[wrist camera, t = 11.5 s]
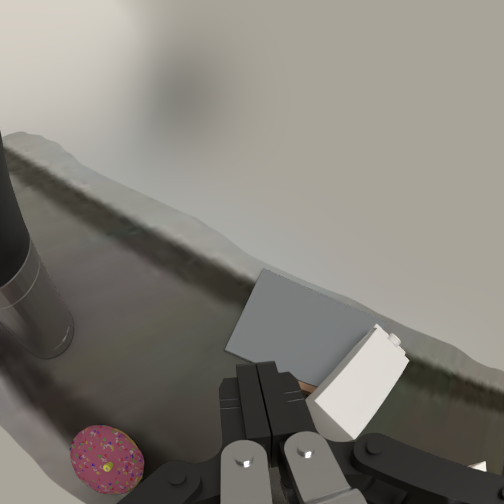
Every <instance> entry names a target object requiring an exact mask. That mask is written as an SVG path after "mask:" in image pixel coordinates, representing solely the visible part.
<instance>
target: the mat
mask: <svg viewBox="0 0 504 504" xmlns="http://www.w3.org/2000/svg"><path fill="white" fill-rule="evenodd" d="M385 322H386V321H384V320H381V319H379V318H377V317H374V316H372V315H370V314H367V313H365V312H363V311H360V310H358V309H356V308H353V307H351V306H349V305H346V304H344V303H342V302H339V301H337V300H335V299H332V298H330V297H328V296H326V295H323V294H321V293H319V292H316V291H314V290H312V289H309V288H307V287H305V286H303V285H300V284H298V283H296V282H293V281H291V280H289V279H287V278H284V277H282V276H280V275H277V274H275V273H273V272H271V271H268V270H266V269H264V268H263V269H262V272H261V274H260V276H259V278H258V280H257V282H256V285H255V287H254V289H253V291H252V293H251V295H250V297H249V300H248V302H247V304H246V306H245V308H244V310H243V312H242V314H241V317H240V319H239V321H238V323H237V325H236V327H235V329H234V331H233V333H232V336H231V338H230V340H229V342H228V344H227V346H226V348H225V350H224V351H226V352H228V353H230V354H232V355H234V356H237V357H239V358H241V359H244V360H246V361H248V362H251V363H255V364H256V363H257V362H266V361H275V363H276V366H277V370H278V373H281V372H290V373H291V374H292V375H293V376H294V377H296V378H297V379H298V381H300V382H303V383H306V384H309V385H311V386H314V387H318V386H319V385H320V384H321V383H322V382H323V381H324V380H325V379H326V378H327V377H328V376H329V374H330V373H331V372H332V371H333V370H334V369H335V368H336V367H337V366H338V365H339V364H340V362H341V361H342V360H343V359H344V358H345V357H346V356H347V355H348V353H349V352H350V351H351V350H352V349H353V348H354V347H355V346H356V345H357V344H358V343H359V342H360V341H361V340H362V339H363V338H364V337H365V336H366V335H367V334H368V333H369V332H370V331H371V330H372V328H373V327H374V326H375V325H376V324H378V325H379V326H380V327H381V328H382V329H383V330H384V331H385Z"/></svg>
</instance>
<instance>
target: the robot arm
mask: <svg viewBox="0 0 504 504" xmlns="http://www.w3.org/2000/svg"><path fill="white" fill-rule="evenodd" d="M0 323H1V324H2V325H3V326H4V327H5V328H6V329H7V330H8V331H9V332H10V333H11V334H12V335H13V336H14V337H15V338H16V339H17V340H18V341H19V342H20V343H21V344H22V345H23V346H24V347H25V348H26V349H27V350H28V351H29V352H31V353H32V354H33V355H35V356H36V357H39V358H43V359H49V358H53V357H56V356H58V355H60V354H61V353H62V352H63V351H65V349H66V348H67V347H68V346H69V344H70V342H71V340H72V337H73V332H74V323H73V319H72V316H71V314H70V312H69V311H68V309H67V307H66V306H65V304H64V302H63V300H62V299H61V297H60V295H59V293H58V291H57V290H56V288H55V286H54V284H53V282H52V280H51V279H50V277H49V275H48V273H47V271H46V269H45V267H44V265H43V263H42V261H41V259H40V257H39V254H38V252H37V250H36V248H35V246H34V244H33V242H32V239H31V237H30V235H29V232H28V230H27V228H26V225H25V223H24V220H23V217H22V215H21V212H20V209H19V206H18V203H17V200H16V197H15V194H14V191H13V187H12V184H11V180H10V177H9V173H8V169H7V164H6V159H5V154H4V149H3V143H2V137H1V133H0ZM236 373H237V378H224V379H223V381H222V383H221V385H220V387H219V398H220V412H221V426H222V438H223V444H222V448H221V450H220V452H219V453H218V454H217V455H216V456H215V457H213V458H212V459H210V460H208V461H205V462H202V463H199V464H195V465H191V464H189V463H187V462H184V461H170V462H167V463H164V464H163V465H161V466H160V467H159V468H158V469H157V470H155V471H154V472H153V473H152V474H151V475H150V476H149V477H148V478H146V479H145V480H144V481H143V482H142V483H141V484H140V485H138V486H137V487H136V488H135V489H134V490H133V491H131V492H130V493H129V494H128V495H127V496H125V497H124V498H123V499H122V500H121V501H119V502H118V503H117V504H272V497H271V489H270V480H269V468H270V464H271V468H273V467H278V468H279V472H280V476H281V477H280V485H281V488H282V491H283V494H284V496H285V499H286V502H287V504H504V476H500V475H496V474H493V473H489V472H485V471H482V470H478V469H475V468H471V467H468V466H465V465H462V464H458V463H455V462H452V461H449V460H446V459H444V458H441V457H438V456H435V455H432V454H430V453H427V452H424V451H422V450H419V449H417V448H414V447H411V446H409V445H406V444H404V443H402V442H399V441H397V440H394V439H392V438H390V437H387V436H385V435H383V434H379V433H369V434H365V435H363V436H361V437H360V438H359V439H358V440H357V441H356V442H335V441H331V440H328V439H326V438H324V437H323V436H321V435H320V434H319V433H318V431H317V429H316V427H315V425H314V422H313V419H312V417H311V414H310V411H309V409H308V406H307V403H306V401H305V399H304V395H303V392H302V391H301V387H300V384H299V382H298V379H297V378H296V377H294V376H293V375H292V374H291V373H290V372H281V373H278V370H277V366H276V363H275V361H266V362H257V363H256V364H255V363H248V364H237V365H236Z"/></svg>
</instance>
